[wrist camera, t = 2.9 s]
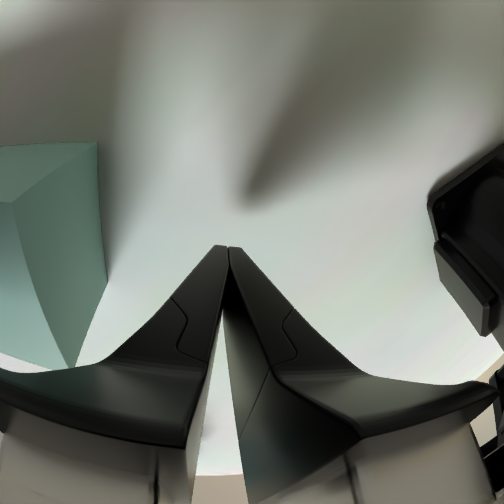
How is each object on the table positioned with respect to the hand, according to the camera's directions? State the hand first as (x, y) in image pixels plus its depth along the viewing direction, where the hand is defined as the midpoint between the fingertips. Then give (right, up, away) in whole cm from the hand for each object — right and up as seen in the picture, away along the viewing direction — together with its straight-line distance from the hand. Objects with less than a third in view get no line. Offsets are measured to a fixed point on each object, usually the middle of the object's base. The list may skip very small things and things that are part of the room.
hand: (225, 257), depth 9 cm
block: (-9, +2, 0) cm, 9 cm away
